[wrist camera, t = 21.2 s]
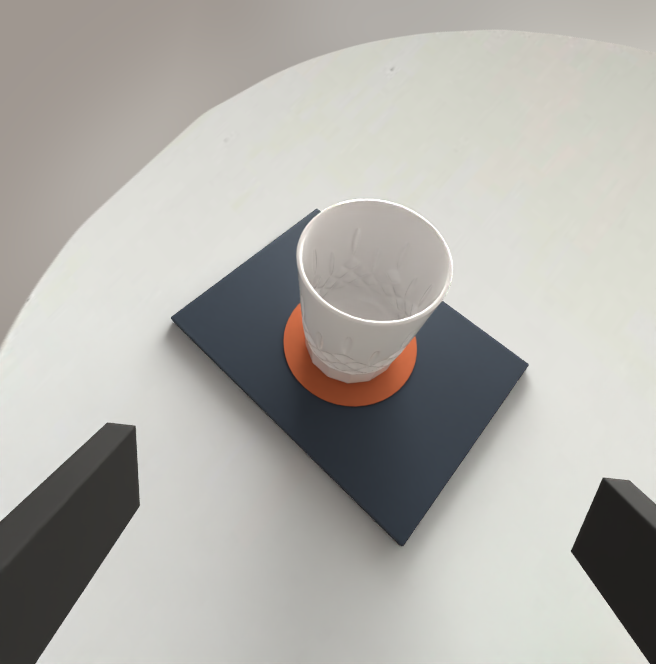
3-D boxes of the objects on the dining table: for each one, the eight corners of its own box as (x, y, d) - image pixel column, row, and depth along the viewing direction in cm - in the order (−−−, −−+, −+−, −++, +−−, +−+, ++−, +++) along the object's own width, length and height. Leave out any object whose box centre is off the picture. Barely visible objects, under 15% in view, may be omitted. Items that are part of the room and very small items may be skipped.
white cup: (284, 312, 28) (276, 216, 19) (377, 285, 29) (410, 186, 21) (319, 407, 25) (330, 347, 16) (421, 371, 26) (483, 298, 17)
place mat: (172, 321, 28) (169, 316, 27) (316, 212, 34) (317, 207, 33) (400, 546, 22) (403, 546, 21) (525, 367, 28) (530, 363, 27)
